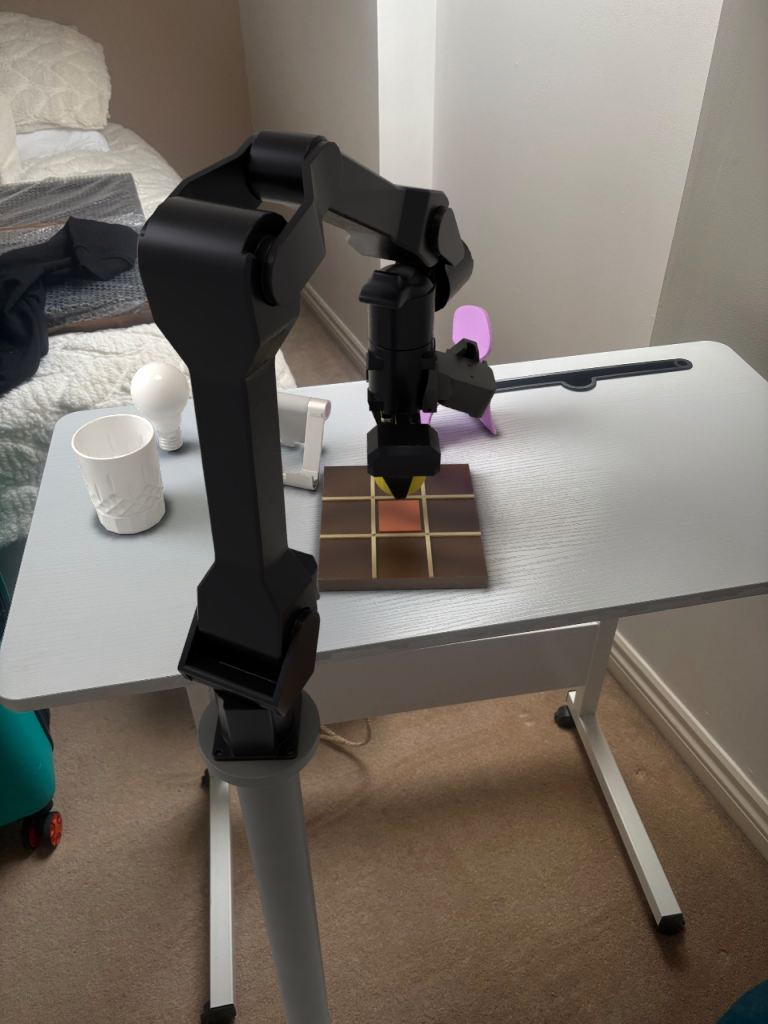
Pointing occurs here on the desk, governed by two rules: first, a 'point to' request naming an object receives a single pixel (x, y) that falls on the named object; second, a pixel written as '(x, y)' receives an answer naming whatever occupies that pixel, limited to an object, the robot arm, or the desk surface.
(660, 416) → the desk surface
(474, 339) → the toy chair
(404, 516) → the board
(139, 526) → the white cup
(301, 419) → the tablet stand
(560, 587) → the desk surface
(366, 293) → the robot arm
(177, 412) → the lightbulb
